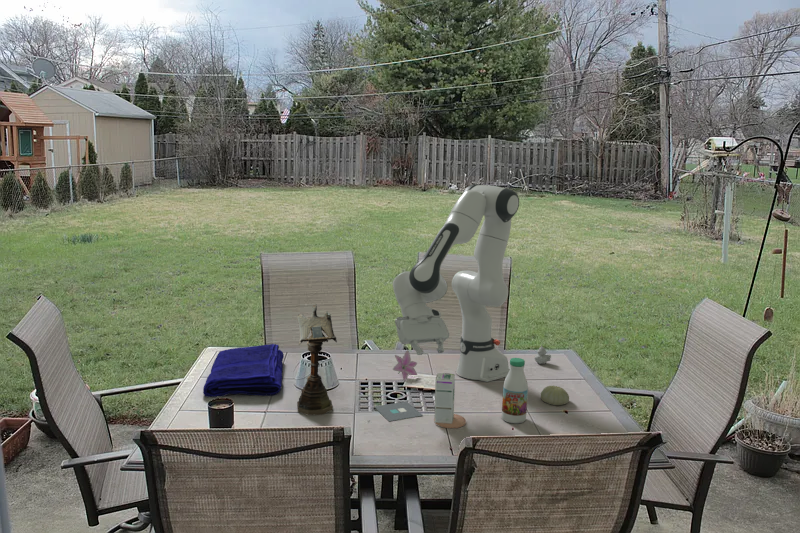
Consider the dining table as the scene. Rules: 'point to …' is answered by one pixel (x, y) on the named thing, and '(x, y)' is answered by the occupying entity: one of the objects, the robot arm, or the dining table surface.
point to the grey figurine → (542, 356)
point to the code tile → (398, 411)
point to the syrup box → (444, 398)
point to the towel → (246, 372)
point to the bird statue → (315, 362)
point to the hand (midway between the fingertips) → (431, 353)
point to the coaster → (454, 422)
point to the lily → (405, 365)
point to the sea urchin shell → (554, 395)
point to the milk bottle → (515, 393)
